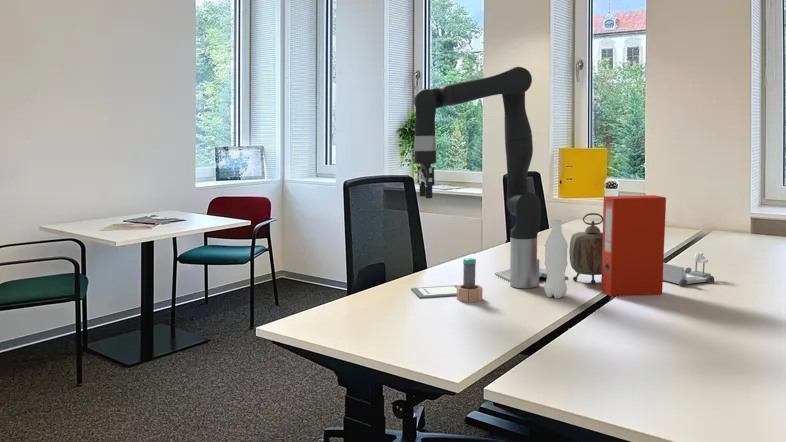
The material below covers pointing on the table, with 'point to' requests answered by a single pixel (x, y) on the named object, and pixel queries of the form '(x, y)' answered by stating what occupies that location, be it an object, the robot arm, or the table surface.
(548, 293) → the water bottle
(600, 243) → the tabletop clock
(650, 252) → the file binder
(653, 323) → the table surface
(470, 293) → the pen cup
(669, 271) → the toy car
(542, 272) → the gadget
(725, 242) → the table surface
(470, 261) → the marker
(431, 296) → the grey tablet
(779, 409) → the table surface
